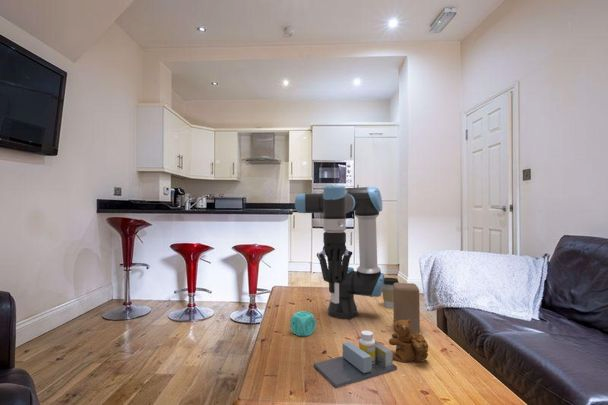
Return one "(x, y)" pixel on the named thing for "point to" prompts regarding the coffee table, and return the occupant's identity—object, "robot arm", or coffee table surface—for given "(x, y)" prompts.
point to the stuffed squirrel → (408, 343)
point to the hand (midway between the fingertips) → (335, 302)
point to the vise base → (346, 373)
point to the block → (407, 305)
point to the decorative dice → (302, 323)
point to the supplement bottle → (367, 344)
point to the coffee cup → (388, 291)
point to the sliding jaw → (357, 357)
